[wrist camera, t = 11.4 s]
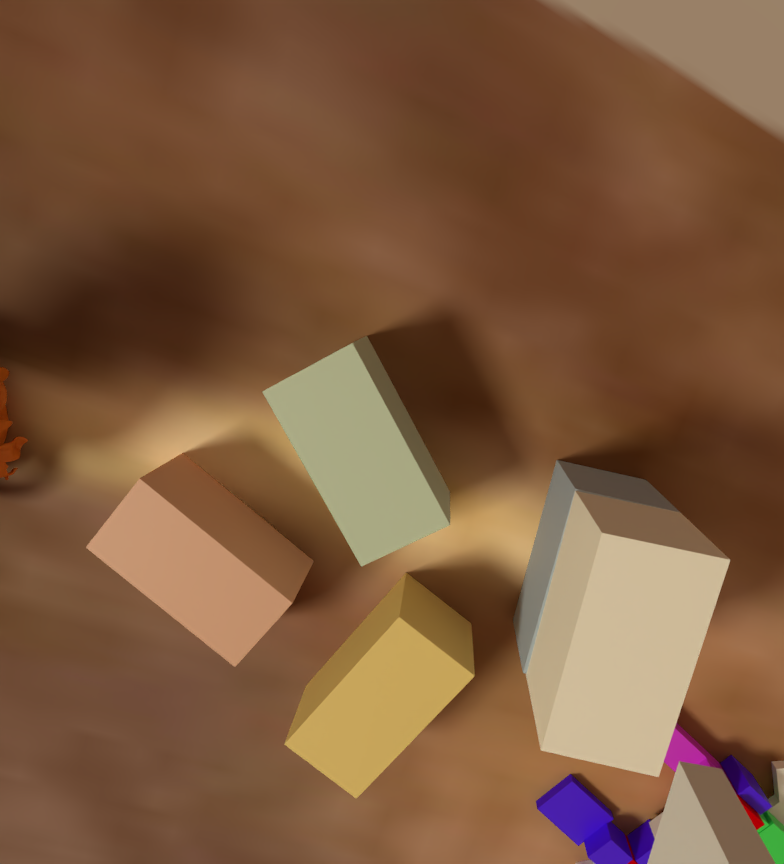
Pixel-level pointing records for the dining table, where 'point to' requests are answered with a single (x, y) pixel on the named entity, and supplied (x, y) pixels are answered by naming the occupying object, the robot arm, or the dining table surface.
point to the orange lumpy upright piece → (10, 450)
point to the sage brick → (362, 451)
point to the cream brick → (621, 632)
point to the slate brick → (552, 531)
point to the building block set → (628, 856)
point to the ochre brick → (383, 686)
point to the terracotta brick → (202, 556)
